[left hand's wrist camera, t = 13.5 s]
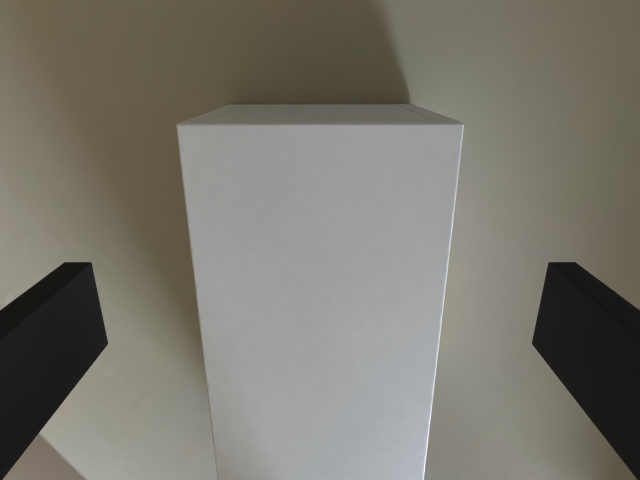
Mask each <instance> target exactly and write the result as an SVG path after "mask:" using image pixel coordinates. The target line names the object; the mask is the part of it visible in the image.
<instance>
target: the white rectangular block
mask: <svg viewBox="0 0 640 480" xmlns="http://www.w3.org/2000/svg"><path fill="white" fill-rule="evenodd" d="M176 128H177V137H178V145H179V154H180V162H181V171H182V179H183V188H184V196H185V205H186V213H187V222H188V230H189V239H190V247H191V256H192V264H193V273H194V281H195V290H196V298H197V307H198V315H199V324H200V332H201V341H202V349H203V358H204V366H205V375H206V383H207V392H208V400H209V409H210V417H211V426H212V434H213V443H214V451H215V460H216V468H217V477H218V480H424V471H425V463H426V454H427V445H428V436H429V427H430V419H431V410H432V401H433V392H434V384H435V375H436V366H437V357H438V349H439V340H440V331H441V322H442V313H443V305H444V296H445V287H446V278H447V270H448V261H449V252H450V243H451V235H452V226H453V217H454V208H455V199H456V191H457V182H458V173H459V164H460V156H461V147H462V138H463V129H464V123H462V122H459V121H456V120H453V119H451V118H448V117H445V116H443V115H440V114H437V113H434V112H432V111H429V110H426V109H424V108H421V107H418V106H416V105H413V104H228V105H225V106H223V107H220V108H217V109H215V110H212V111H209V112H207V113H204V114H201V115H198V116H196V117H193V118H190V119H188V120H185V121H183V122H180V123H177V124H176Z"/></svg>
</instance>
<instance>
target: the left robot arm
mask: <svg viewBox="0 0 640 480" xmlns="http://www.w3.org/2000/svg"><path fill="white" fill-rule="evenodd" d="M107 345H108V341H107V336H106V331H105V326H104V321H103V317H102V312H101V307H100V302H99V297H98V292H97V287H96V283H95V278H94V273H93V268H92V263H91V262H64V263H63V264H62V265H60V266H59V267H58V268H56V269H55V270H54V271H52V272H51V273H50V274H48V275H47V276H46V277H44V278H43V279H42V280H40V281H39V282H38V283H36V284H35V285H34V286H32V287H31V288H30V289H28V290H27V291H26V292H24V293H23V294H22V295H20V296H19V297H18V298H16V299H15V300H14V301H12V302H11V303H10V304H8V305H7V306H6V307H4V308H3V309H2V310H0V480H3V478H4V477H5V476H6V474H7V473H8V472H9V471H10V469H11V468H12V467H13V465H14V464H15V463H16V462H17V460H18V459H19V458H20V456H21V455H22V454H23V453H24V451H25V450H26V449H27V447H28V446H29V445H30V444H31V442H32V441H33V440H34V438H35V437H36V436H37V435H38V433H39V432H40V431H41V429H42V428H43V427H44V426H45V424H46V423H47V422H48V420H49V419H50V418H51V417H52V415H53V414H54V413H55V411H56V410H57V409H58V408H59V406H60V405H61V404H62V402H63V401H64V400H65V399H66V397H67V396H68V395H69V393H70V392H71V391H72V390H73V388H74V387H75V386H76V384H77V383H78V382H79V381H80V379H81V378H82V377H83V375H84V374H85V373H86V372H87V370H88V369H89V368H90V366H91V365H92V364H93V363H94V361H95V360H96V359H97V357H98V356H99V355H100V354H101V352H102V351H103V350H104V348H105V347H106V346H107ZM532 345H533V346H534V347H535V348H536V350H537V351H538V352H539V354H540V355H541V356H542V357H543V359H544V360H545V361H546V363H547V364H548V365H549V366H550V368H551V369H552V370H553V372H554V373H555V374H556V375H557V377H558V378H559V379H560V381H561V382H562V383H563V384H564V386H565V387H566V388H567V390H568V391H569V392H570V393H571V395H572V396H573V397H574V399H575V400H576V401H577V402H578V404H579V405H580V406H581V408H582V409H583V410H584V411H585V413H586V414H587V415H588V417H589V418H590V419H591V420H592V422H593V423H594V424H595V426H596V427H597V428H598V429H599V431H600V432H601V433H602V435H603V436H604V437H605V438H606V440H607V441H608V442H609V444H610V445H611V446H612V447H613V449H614V450H615V451H616V453H617V454H618V455H619V456H620V458H621V459H622V460H623V462H624V463H625V464H626V465H627V467H628V468H629V469H630V471H631V472H632V473H633V474H634V476H635V477H636V478H637V480H640V310H638V309H637V308H636V307H634V306H633V305H632V304H630V303H629V302H628V301H626V300H625V299H624V298H622V297H621V296H620V295H618V294H617V293H616V292H614V291H613V290H612V289H610V288H609V287H608V286H606V285H605V284H604V283H602V282H601V281H600V280H598V279H597V278H596V277H594V276H593V275H592V274H590V273H589V272H588V271H586V270H585V269H584V268H582V267H581V266H580V265H578V264H577V263H576V262H549V263H548V268H547V273H546V278H545V283H544V287H543V292H542V297H541V302H540V307H539V312H538V317H537V321H536V326H535V331H534V336H533V341H532Z"/></svg>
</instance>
